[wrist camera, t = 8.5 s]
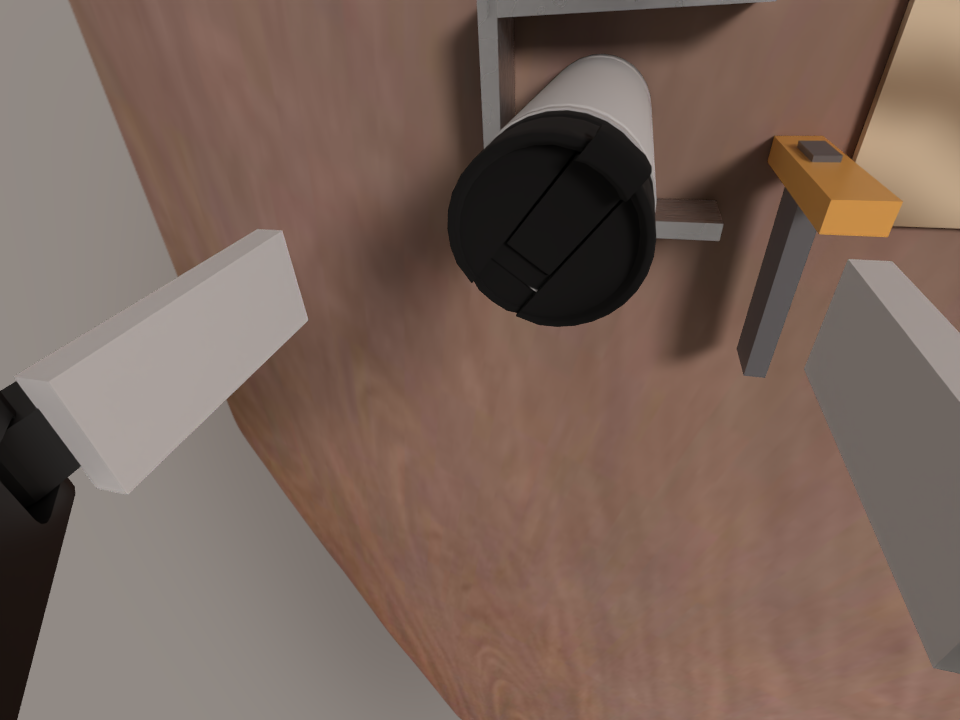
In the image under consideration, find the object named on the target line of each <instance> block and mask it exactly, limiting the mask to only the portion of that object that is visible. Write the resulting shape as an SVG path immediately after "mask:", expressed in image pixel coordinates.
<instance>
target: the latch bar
mask: <svg viewBox="0 0 960 720" xmlns="http://www.w3.org/2000/svg"><path fill="white" fill-rule="evenodd" d="M767 162H768V164H769V165H770V166H771V168H772V169H773V171H774V172H775V173H776V175H777V176H778V178H779V179H780V180H781V182H782V183H783V185H784V186H785V188H784V192H783V195H782V198H781V202H780V205H779V208H778V212H777V215H776V218H775V222H774V225H773V229H772V232H771V235H770V239H769V242H768V245H767V249H766V252H765V255H764V259H763V262H762V265H761V269H760V272H759V276H758V279H757V282H756V286H755V289H754V292H753V296H752V299H751V302H750V306H749V309H748V313H747V316H746V319H745V323H744V326H743V329H742V333H741V336H740V339H739V343H738V346H737V351H738V355H739V359H740V363H741V367H742V371H743V375H744V376H754V377H763V378H765V376H766V373H767V371H768V368H769V365H770V362H771V359H772V356H773V354H774V351H775V348H776V345H777V342H778V339H779V337H780V334H781V331H782V328H783V325H784V322H785V319H786V317H787V314H788V311H789V308H790V305H791V302H792V300H793V297H794V294H795V291H796V288H797V285H798V283H799V280H800V277H801V274H802V271H803V268H804V266H805V263H806V260H807V257H808V254H809V251H810V249H811V246H812V243H813V240H814V237H815V234H816V231H817V232H818V234H826V235H850V236H875V237H888V235H889V233H890V231H891V228H892V226H893V224H894V222H895V219H896V217H897V215H898V212H899V210H900V208H901V206H902V203H903V201H902V200H901V199H899V198H898V197H897V196H896V195H895V194H893V193H892V192H891V191H890V190H888V189H887V188H886V187H885V186H884V185H882V184H881V183H880V182H879V181H877V180H876V179H875V178H874V177H872V176H871V175H870V174H869V173H868V172H866V171H865V170H864V169H863V168H861V167H860V166H859V165H858V164H857V163H855V162H854V161H853V160H852V159H850V158H849V157H848V156H847V155H846V154H844V153H843V152H842V151H841V150H839V149H838V148H837V147H836V146H835V145H833V144H832V143H831V142H830V141H828V140H827V139H826V138H825V137H823V136H774V139H773V143H772V146H771V150H770V154H769V157H768V161H767Z"/></svg>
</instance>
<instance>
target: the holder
mask: <svg viewBox="0 0 960 720" xmlns="http://www.w3.org/2000/svg"><path fill="white" fill-rule="evenodd" d="M770 1H776V0H477V15H478V36H479V57H480V78H481V99H482V120H483V140H484V149H485V147H486V146H487V145H488V144H489V142H490V141H491V140H492V139H493V137H494V136H495V135H496V134H497V133H498V132H500V130H501V129H502V128H503V127H504V126H506V125H507V124H508V123H509V122H510V121H511V120H512V119H513V118H514V117H515V80H514V17H519V16H535V15H552V14H569V13H586V12H602V11H619V10H636V9H653V8H669V7H686V6H703V5H719V4H736V3H753V2H770ZM655 218H656V238H665V239H687V240H709V241H720V237H721V232H722V228H723V221H722V218H721V215H720V212H719V209H718V206H717V203H716V200H690V199H657V202H656V211H655Z"/></svg>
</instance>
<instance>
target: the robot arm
mask: <svg viewBox="0 0 960 720" xmlns="http://www.w3.org/2000/svg"><path fill="white" fill-rule="evenodd" d="M307 321H308V317H307V314H306V310H305V307H304V303H303V300H302V297H301V293H300V290H299V286H298V283H297V280H296V276H295V273H294V269H293V266H292V262H291V259H290V256H289V252H288V249H287V245H286V242H285V239H284V235H283V232H282V230H262V229H257V230H255V231H254V232H252V233H250V234H249V235H247V236H245V237H244V238H242V239H240V240H239V241H237V242H235V243H234V244H232V245H230V246H229V247H227V248H225V249H224V250H222V251H220V252H219V253H217V254H215V255H214V256H212V257H210V258H209V259H207V260H205V261H204V262H202V263H201V264H199V265H197V266H196V267H194V268H192V269H191V270H189V271H187V272H186V273H184V274H182V275H181V276H179V277H177V278H176V279H174V280H172V281H171V282H169V283H167V284H166V285H164V286H162V287H161V288H159V289H157V290H156V291H154V292H152V293H151V294H149V295H147V296H146V297H144V298H142V299H141V300H139V301H137V302H136V303H134V304H132V305H131V306H129V307H127V308H126V309H124V310H123V311H121V312H119V313H118V314H116V315H114V316H112V317H111V318H109V319H107V320H106V321H104V322H103V323H101V324H99V325H98V326H96V327H94V328H93V329H91V330H89V331H88V332H86V333H84V334H83V335H81V336H79V337H78V338H76V339H74V340H73V341H71V342H69V343H68V344H66V345H65V346H63V347H61V348H59V349H58V350H56V351H54V352H53V353H51V354H49V355H48V356H46V357H45V358H43V359H41V360H39V361H38V362H36V363H34V364H33V365H31V366H29V367H28V368H26V369H24V370H23V371H21V372H19V373H18V374H16V375H14V376H13V377H14V378H15V379H16V382H14V383H13V384H11V385H9V386H8V387H6V388H5V389H3V390H1V391H0V720H17V718H18V714H19V710H20V706H21V702H22V698H23V695H24V691H25V687H26V683H27V679H28V675H29V671H30V668H31V664H32V660H33V656H34V652H35V648H36V644H37V640H38V637H39V633H40V629H41V625H42V621H43V617H44V613H45V609H46V605H47V602H48V598H49V594H50V590H51V586H52V582H53V578H54V574H55V571H56V567H57V563H58V558H59V555H60V551H61V547H62V543H63V539H64V535H65V532H66V528H67V524H68V520H69V516H70V512H71V508H72V505H73V500H74V496H75V486H74V485H73V484H72V482H71V481H70V480H69V479H68V476H70V475H71V474H72V473H73V472H74V471H76V470H77V469H78V468H79V467H81V468H82V470H83V471H84V472H85V474H86V475H87V476H88V478H89V479H90V480H91V482H92V483H93V484H94V485H95V487H96V488H98V489H102V490H107V491H112V492H117V493H121V494H126V495H128V494H129V493H130V492H131V491H132V490H133V489H134V488H135V487H136V486H137V485H138V484H139V483H140V482H141V481H142V480H143V479H144V478H145V477H146V476H148V474H150V473H151V472H152V471H153V470H154V469H155V468H156V467H157V466H158V465H159V464H160V463H161V462H162V461H163V460H164V459H165V458H166V457H167V456H168V455H169V454H170V453H171V452H172V451H173V450H174V449H175V448H176V447H178V446H179V445H180V444H181V443H182V442H183V441H184V440H185V439H186V438H187V437H188V436H189V435H190V434H191V433H192V432H193V431H194V430H195V429H196V428H197V427H198V426H199V425H200V424H201V423H202V422H203V421H204V420H205V419H206V418H208V417H209V416H210V415H211V414H212V413H213V412H214V411H215V410H216V409H217V408H218V407H219V406H220V405H221V404H222V403H223V402H224V401H225V400H226V399H227V398H228V397H229V396H230V395H231V394H232V393H233V392H235V391H236V390H237V389H238V388H239V387H240V386H241V385H242V384H243V383H244V382H245V381H246V380H247V379H248V378H249V377H250V376H251V375H252V374H253V373H254V372H255V371H256V370H257V369H258V368H259V367H260V366H261V365H263V364H264V363H265V362H266V361H267V360H268V359H269V358H270V357H271V356H272V355H273V354H274V353H275V352H276V351H277V350H278V349H279V348H280V347H281V346H282V345H283V344H284V343H285V342H286V341H287V340H288V339H289V338H290V337H292V336H293V335H294V334H295V333H296V332H297V331H298V330H299V329H300V328H301V327H302V326H303V325H304V324H305V323H306V322H307ZM804 370H805V372H806V375H807V377H808V379H809V382H810V384H811V386H812V388H813V391H814V393H815V395H816V398H817V400H818V402H819V405H820V407H821V409H822V412H823V414H824V416H825V419H826V421H827V423H828V426H829V428H830V430H831V432H832V435H833V437H834V439H835V442H836V444H837V446H838V449H839V451H840V453H841V456H842V458H843V460H844V463H845V465H846V467H847V469H848V472H849V474H850V476H851V479H852V481H853V483H854V486H855V488H856V490H857V493H858V495H859V497H860V500H861V502H862V504H863V507H864V509H865V511H866V513H867V516H868V518H869V520H870V523H871V525H872V527H873V530H874V532H875V534H876V537H877V539H878V541H879V544H880V546H881V548H882V550H883V553H884V555H885V557H886V560H887V562H888V564H889V567H890V569H891V571H892V574H893V576H894V578H895V581H896V583H897V585H898V588H899V590H900V592H901V594H902V597H903V599H904V601H905V604H906V606H907V608H908V611H909V613H910V615H911V618H912V620H913V622H914V625H915V627H916V629H917V631H918V634H919V636H920V638H921V641H922V643H923V645H924V648H925V650H926V652H927V655H928V657H929V659H930V662H931V664H932V666H933V668H936V669H941V670H945V671H950V672H955V673H959V674H960V333H959V332H958V331H957V330H956V329H955V327H954V326H953V325H952V324H951V323H950V322H949V321H948V320H947V319H946V318H945V317H944V316H943V315H942V314H941V313H940V312H939V310H938V309H937V308H936V307H935V306H934V305H933V304H932V303H931V302H930V301H929V300H928V299H927V298H926V297H925V296H924V295H923V293H922V292H921V291H920V290H919V289H918V288H917V287H916V286H915V285H914V284H913V283H912V282H911V281H910V280H909V279H908V278H907V276H906V275H905V274H904V273H903V272H902V271H901V270H900V269H899V268H898V267H897V266H896V265H895V264H894V263H893V262H892V261H875V260H856V259H848V261H847V263H846V266H845V268H844V271H843V273H842V276H841V278H840V281H839V283H838V286H837V288H836V291H835V293H834V296H833V298H832V301H831V303H830V306H829V308H828V311H827V313H826V316H825V318H824V321H823V323H822V326H821V328H820V331H819V333H818V336H817V338H816V341H815V343H814V346H813V348H812V351H811V353H810V356H809V358H808V361H807V363H806V366H805V368H804Z"/></svg>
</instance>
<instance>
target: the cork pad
mask: <svg viewBox="0 0 960 720" xmlns="http://www.w3.org/2000/svg"><path fill="white" fill-rule="evenodd" d="M852 160H853V161H854V162H855V163H857V164H858V165H859V166H860V167H861V168H863V169H864V170H865V171H866V172H868V173H869V174H870V175H871V176H872V177H874V178H875V179H876V180H877V181H879V182H880V183H881V184H882V185H884V186H885V187H886V188H887V189H888V190H890V191H891V192H892V193H893V194H895V195H896V196H897V197H898V198H899V199H901V200H902V201H903V203H902V206H901V208H900V210H899V212H898V215H897V217H896V219H895V222H894V224H893V226H904V227H931V228H959V229H960V0H909V3H908V6H907V9H906V11H905V14H904V17H903V20H902V22H901V25H900V28H899V31H898V33H897V36H896V39H895V42H894V44H893V47H892V50H891V53H890V55H889V58H888V61H887V64H886V67H885V69H884V72H883V75H882V78H881V80H880V83H879V86H878V89H877V91H876V94H875V97H874V100H873V102H872V105H871V108H870V111H869V113H868V116H867V119H866V122H865V124H864V127H863V130H862V133H861V135H860V138H859V141H858V144H857V146H856V149H855V152H854V155H853V157H852Z"/></svg>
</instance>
